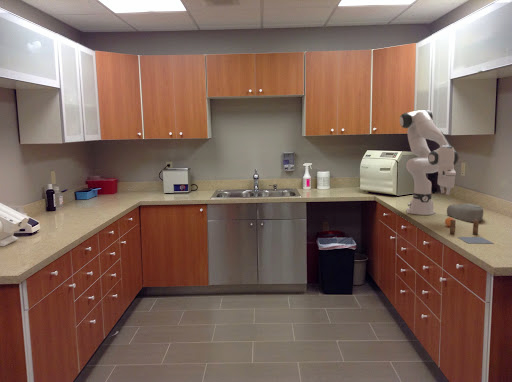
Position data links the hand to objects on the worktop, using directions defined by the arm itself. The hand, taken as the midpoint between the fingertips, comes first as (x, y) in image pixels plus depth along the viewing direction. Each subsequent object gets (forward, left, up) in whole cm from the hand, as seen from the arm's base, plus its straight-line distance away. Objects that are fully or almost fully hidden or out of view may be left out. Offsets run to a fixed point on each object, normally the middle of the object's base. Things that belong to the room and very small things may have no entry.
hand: (445, 193), depth 272 cm
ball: (+9, 0, -16) cm, 18 cm away
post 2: (+29, +7, -19) cm, 35 cm away
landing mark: (+43, 0, -19) cm, 47 cm away
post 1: (+29, -6, -19) cm, 35 cm away
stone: (-15, +21, -19) cm, 32 cm away
